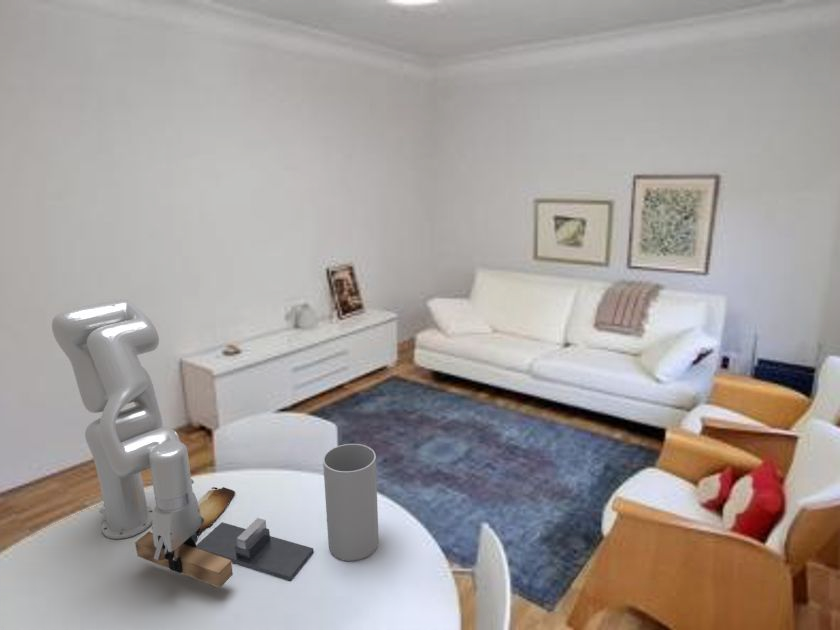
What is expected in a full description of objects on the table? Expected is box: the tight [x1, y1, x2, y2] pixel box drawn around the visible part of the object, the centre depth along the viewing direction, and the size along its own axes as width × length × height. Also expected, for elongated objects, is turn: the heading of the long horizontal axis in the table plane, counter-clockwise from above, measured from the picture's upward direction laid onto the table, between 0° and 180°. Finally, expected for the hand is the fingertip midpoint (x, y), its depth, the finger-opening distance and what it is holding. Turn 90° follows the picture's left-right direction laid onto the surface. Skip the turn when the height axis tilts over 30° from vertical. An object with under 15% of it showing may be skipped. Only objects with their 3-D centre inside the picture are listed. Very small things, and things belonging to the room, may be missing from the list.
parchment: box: [197, 486, 236, 537], centre depth 148 cm, size 25×10×1 cm, turn 168°
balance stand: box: [196, 517, 315, 582], centre depth 133 cm, size 28×10×7 cm, turn 69°
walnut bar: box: [134, 531, 234, 589], centre depth 124 cm, size 24×4×4 cm, turn 69°
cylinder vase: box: [322, 443, 379, 562], centre depth 133 cm, size 12×12×25 cm
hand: (183, 562), depth 124 cm, fingers closed on walnut bar, 4 cm apart
